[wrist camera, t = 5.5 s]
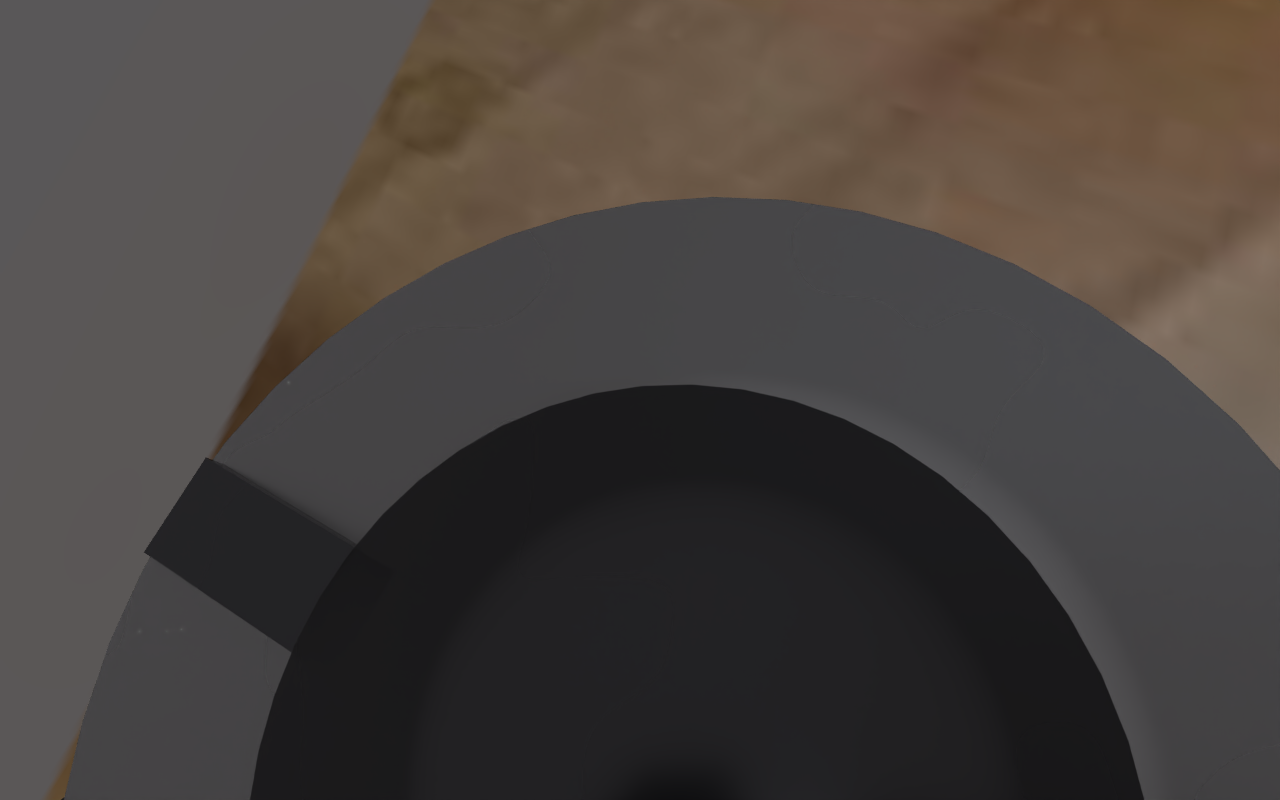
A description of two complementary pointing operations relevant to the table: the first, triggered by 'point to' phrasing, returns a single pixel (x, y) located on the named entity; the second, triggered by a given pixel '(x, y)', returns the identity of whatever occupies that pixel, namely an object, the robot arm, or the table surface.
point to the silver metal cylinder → (711, 541)
